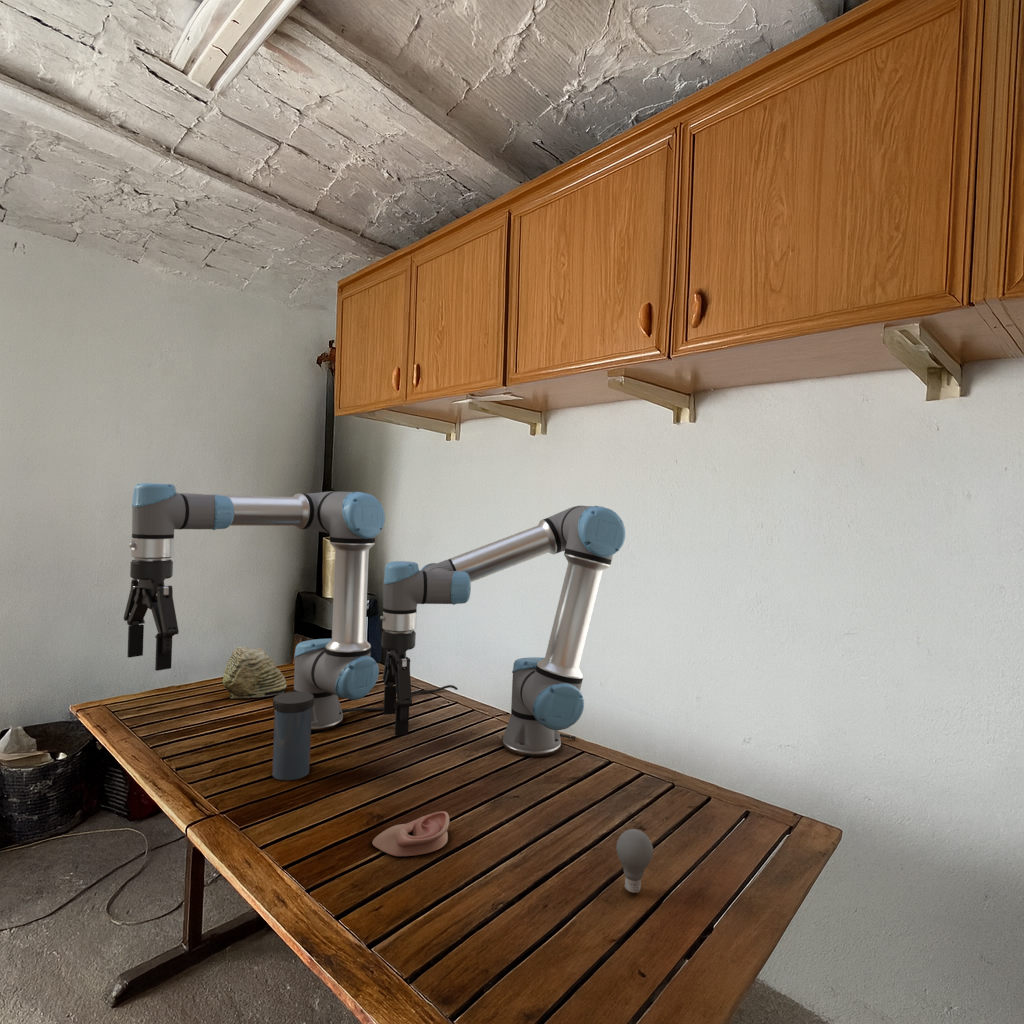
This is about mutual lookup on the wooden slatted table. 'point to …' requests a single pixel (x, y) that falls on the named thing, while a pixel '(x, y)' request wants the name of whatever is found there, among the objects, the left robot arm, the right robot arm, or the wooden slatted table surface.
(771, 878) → the wooden slatted table surface
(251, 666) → the fossil
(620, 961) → the wooden slatted table surface
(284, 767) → the jar
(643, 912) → the wooden slatted table surface
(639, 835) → the light bulb
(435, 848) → the anatomical model
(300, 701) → the lid
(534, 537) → the right robot arm
